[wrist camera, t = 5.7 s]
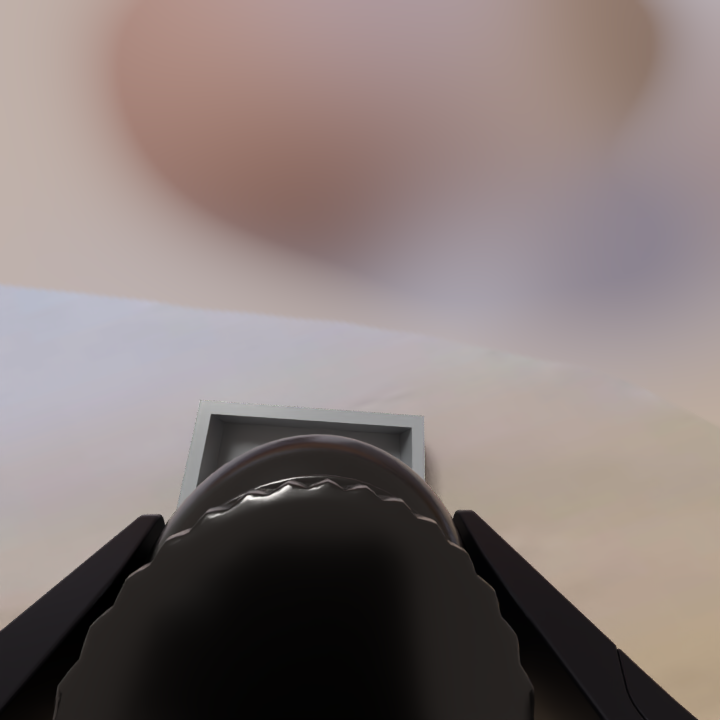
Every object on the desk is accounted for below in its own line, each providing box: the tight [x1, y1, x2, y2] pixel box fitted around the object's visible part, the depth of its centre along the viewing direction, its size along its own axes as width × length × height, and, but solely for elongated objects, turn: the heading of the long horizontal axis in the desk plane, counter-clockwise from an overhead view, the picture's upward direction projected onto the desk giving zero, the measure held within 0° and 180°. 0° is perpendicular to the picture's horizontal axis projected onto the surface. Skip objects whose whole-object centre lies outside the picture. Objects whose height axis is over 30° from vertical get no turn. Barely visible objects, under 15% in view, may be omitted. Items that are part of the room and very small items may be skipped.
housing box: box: [176, 400, 425, 510], centre depth 18 cm, size 12×12×4 cm
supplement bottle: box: [53, 434, 535, 720], centre depth 9 cm, size 7×7×12 cm
